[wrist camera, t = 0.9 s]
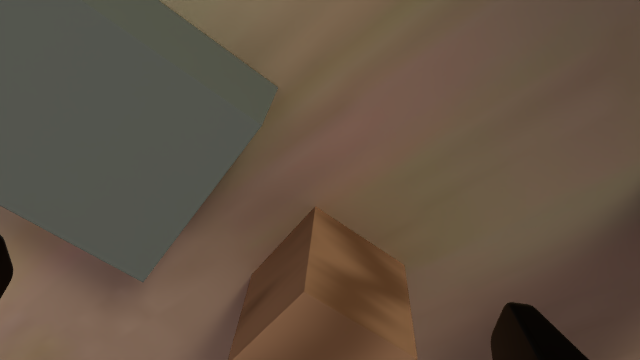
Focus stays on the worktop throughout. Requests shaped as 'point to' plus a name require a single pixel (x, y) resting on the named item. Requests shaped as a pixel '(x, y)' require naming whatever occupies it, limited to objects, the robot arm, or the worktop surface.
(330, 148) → the worktop surface
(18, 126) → the slate block
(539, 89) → the worktop surface
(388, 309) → the terracotta cube
